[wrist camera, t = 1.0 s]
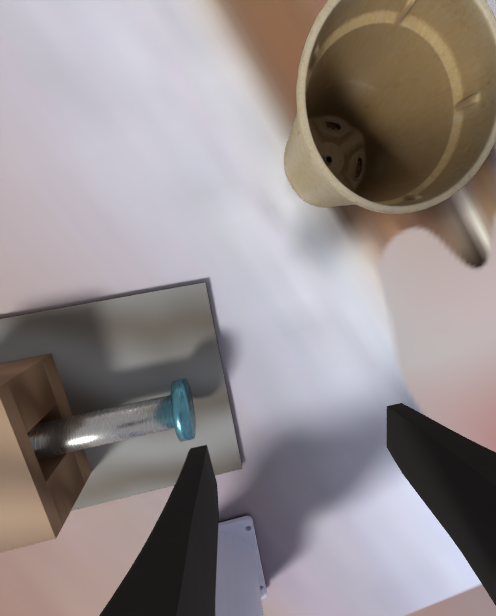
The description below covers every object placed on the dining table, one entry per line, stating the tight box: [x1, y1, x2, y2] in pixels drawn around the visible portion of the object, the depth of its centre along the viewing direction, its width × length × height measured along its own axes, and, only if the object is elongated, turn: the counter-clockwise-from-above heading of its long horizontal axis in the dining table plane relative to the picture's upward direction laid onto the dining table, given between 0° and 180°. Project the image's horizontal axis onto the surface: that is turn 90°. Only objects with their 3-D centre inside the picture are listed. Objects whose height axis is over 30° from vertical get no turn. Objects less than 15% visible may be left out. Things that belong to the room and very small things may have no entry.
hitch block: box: [0, 282, 242, 553], centre depth 18 cm, size 16×22×6 cm
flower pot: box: [284, 0, 496, 214], centre depth 16 cm, size 9×9×9 cm
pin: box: [27, 378, 196, 460], centre depth 18 cm, size 4×12×4 cm, turn 100°
